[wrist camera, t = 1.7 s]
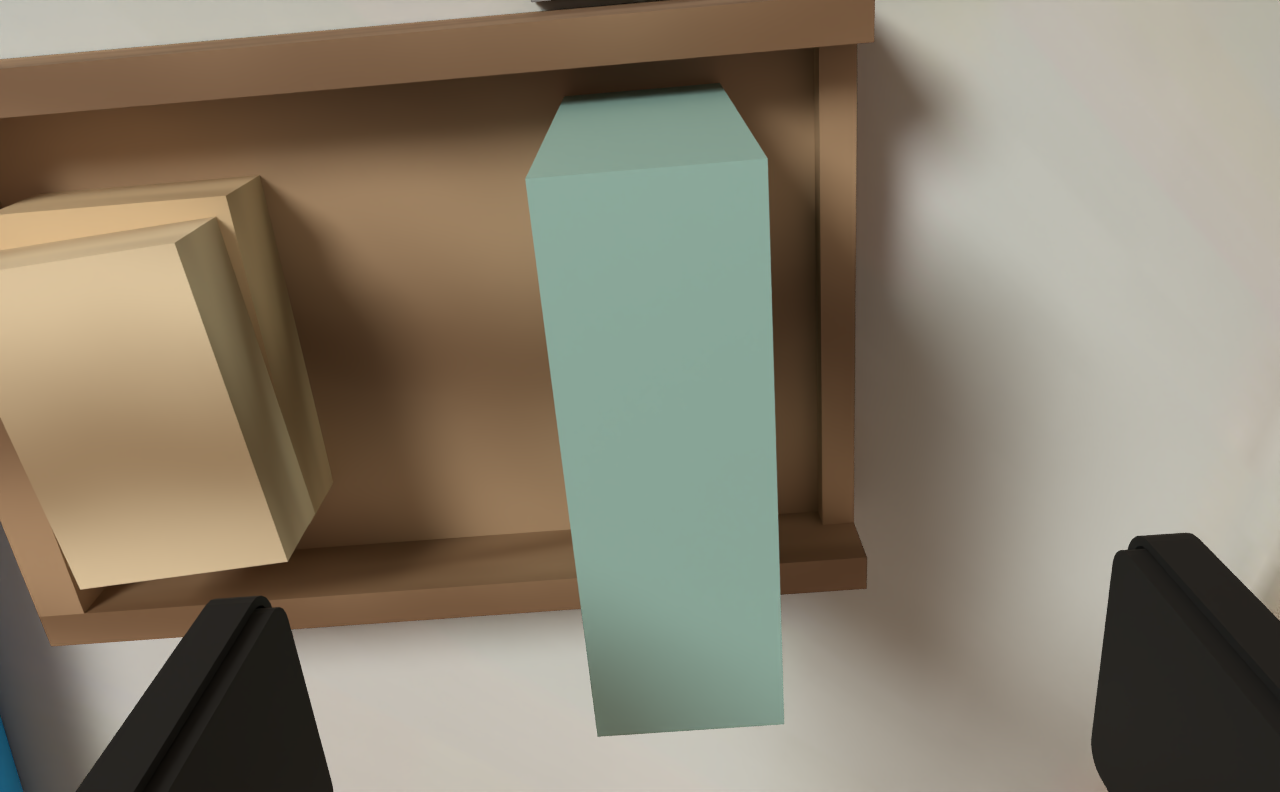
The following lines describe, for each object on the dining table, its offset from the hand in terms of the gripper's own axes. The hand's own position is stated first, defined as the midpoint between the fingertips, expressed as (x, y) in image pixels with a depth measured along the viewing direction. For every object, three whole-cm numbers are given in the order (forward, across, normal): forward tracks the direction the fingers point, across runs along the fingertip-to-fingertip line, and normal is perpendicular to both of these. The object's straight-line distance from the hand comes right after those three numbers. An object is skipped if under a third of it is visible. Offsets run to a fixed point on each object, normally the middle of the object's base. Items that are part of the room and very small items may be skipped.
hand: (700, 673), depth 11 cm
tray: (+12, +5, -1) cm, 13 cm away
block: (+11, 0, -1) cm, 11 cm away
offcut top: (+9, +10, 0) cm, 14 cm away
